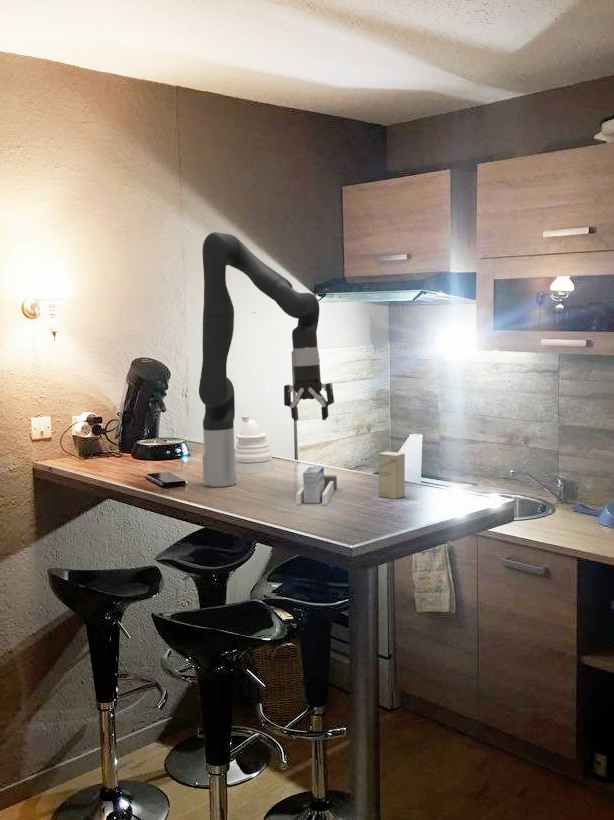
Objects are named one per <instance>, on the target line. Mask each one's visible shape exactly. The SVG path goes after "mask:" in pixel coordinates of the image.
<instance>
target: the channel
mask: <svg viewBox="0 0 614 820" xmlns="http://www.w3.org/2000/svg"><path fill="white" fill-rule="evenodd" d="M324 487H325V490H324V492H323V494H322V501H321V502H322V506H327V504H328V502H329V501H330V499H331V498H332V495H333V494H334V492H336V491H337V490H338V476H337V475H336V474H335V475H334V474H332V475H330V474H329V475H327V474H324ZM303 502H304V486H303V485H302V486H301V488H300V489H299V490H298V491H297V493H296V506H301V505H302V503H303Z"/></svg>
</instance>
